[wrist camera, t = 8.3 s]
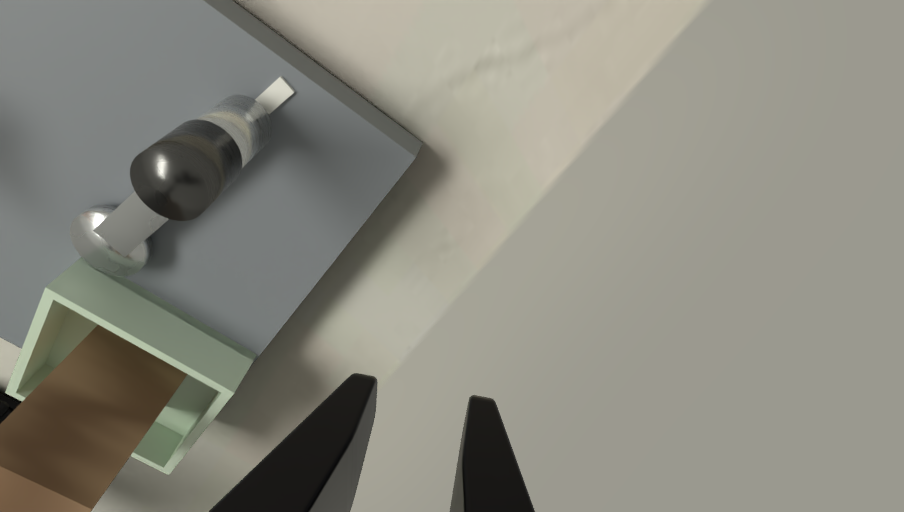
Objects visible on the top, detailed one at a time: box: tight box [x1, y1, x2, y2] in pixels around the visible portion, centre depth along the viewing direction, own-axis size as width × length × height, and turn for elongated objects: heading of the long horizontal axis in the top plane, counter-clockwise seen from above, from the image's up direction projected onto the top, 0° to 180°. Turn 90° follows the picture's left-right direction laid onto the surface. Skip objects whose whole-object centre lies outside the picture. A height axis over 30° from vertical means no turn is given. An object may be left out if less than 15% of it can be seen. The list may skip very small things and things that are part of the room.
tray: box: [5, 257, 257, 475], centre depth 25 cm, size 8×8×2 cm
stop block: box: [0, 325, 188, 512], centre depth 23 cm, size 4×4×7 cm
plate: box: [0, 0, 422, 367], centre depth 20 cm, size 20×16×5 cm
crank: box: [70, 94, 273, 276], centre depth 18 cm, size 10×3×5 cm, turn 128°
